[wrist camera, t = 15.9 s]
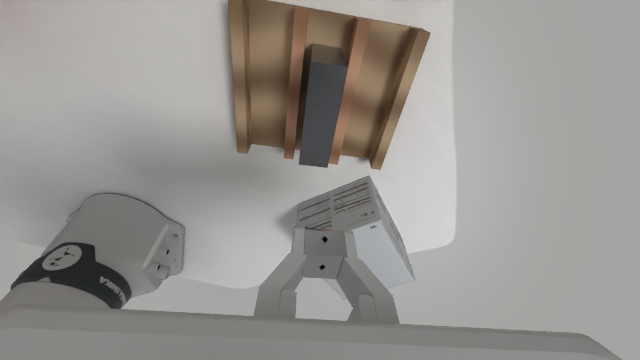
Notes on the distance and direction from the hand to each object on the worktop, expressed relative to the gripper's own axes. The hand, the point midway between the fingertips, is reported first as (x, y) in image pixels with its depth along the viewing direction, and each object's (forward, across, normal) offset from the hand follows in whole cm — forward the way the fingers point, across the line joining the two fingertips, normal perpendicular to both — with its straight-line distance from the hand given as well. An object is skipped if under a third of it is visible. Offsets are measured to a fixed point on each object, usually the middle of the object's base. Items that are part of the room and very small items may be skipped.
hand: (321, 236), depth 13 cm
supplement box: (+23, +9, -22) cm, 33 cm away
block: (+21, 0, 0) cm, 21 cm away
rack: (+22, 0, 0) cm, 22 cm away
